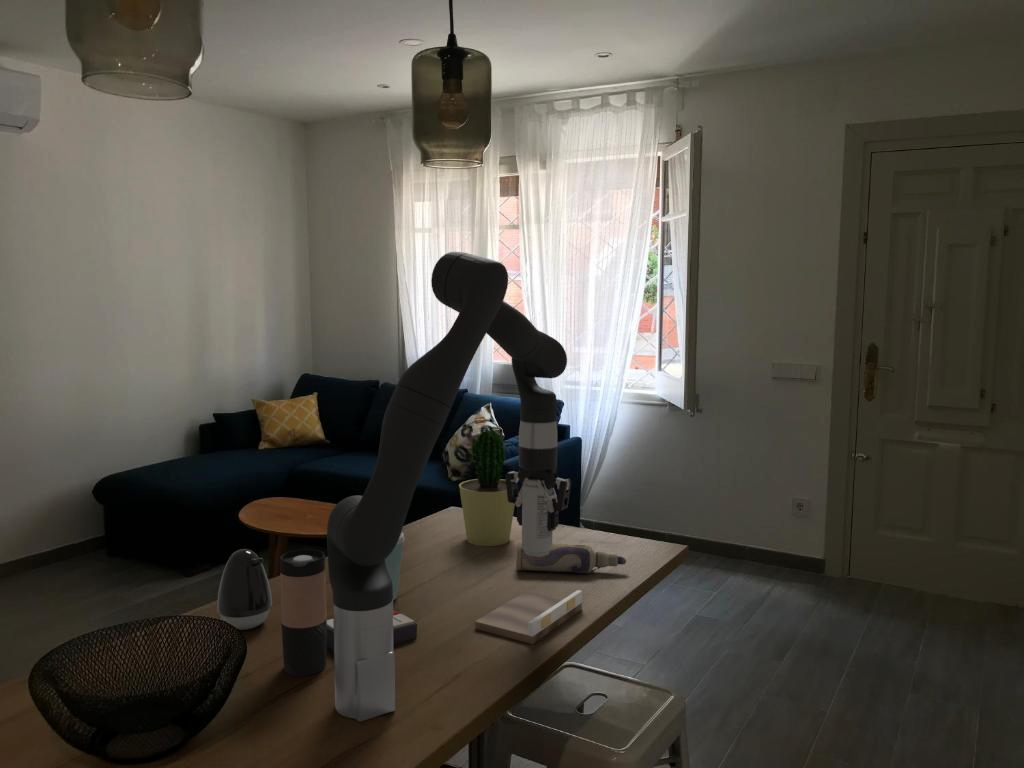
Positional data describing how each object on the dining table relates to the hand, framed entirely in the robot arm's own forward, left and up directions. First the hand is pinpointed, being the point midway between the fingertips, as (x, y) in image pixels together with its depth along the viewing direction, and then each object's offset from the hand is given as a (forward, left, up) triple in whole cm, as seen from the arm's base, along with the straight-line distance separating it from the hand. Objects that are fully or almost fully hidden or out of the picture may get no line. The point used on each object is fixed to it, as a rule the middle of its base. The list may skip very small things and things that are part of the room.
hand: (537, 527), depth 161 cm
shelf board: (+1, 0, -19) cm, 19 cm away
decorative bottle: (+19, -23, -20) cm, 35 cm away
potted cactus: (+50, -22, -19) cm, 58 cm away
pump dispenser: (+30, +48, -19) cm, 60 cm away
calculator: (+11, +31, -20) cm, 39 cm away
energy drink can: (0, 0, -5) cm, 5 cm away
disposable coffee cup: (+28, +20, -19) cm, 40 cm away
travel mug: (+6, +45, -19) cm, 50 cm away
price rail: (-4, -2, -18) cm, 18 cm away
